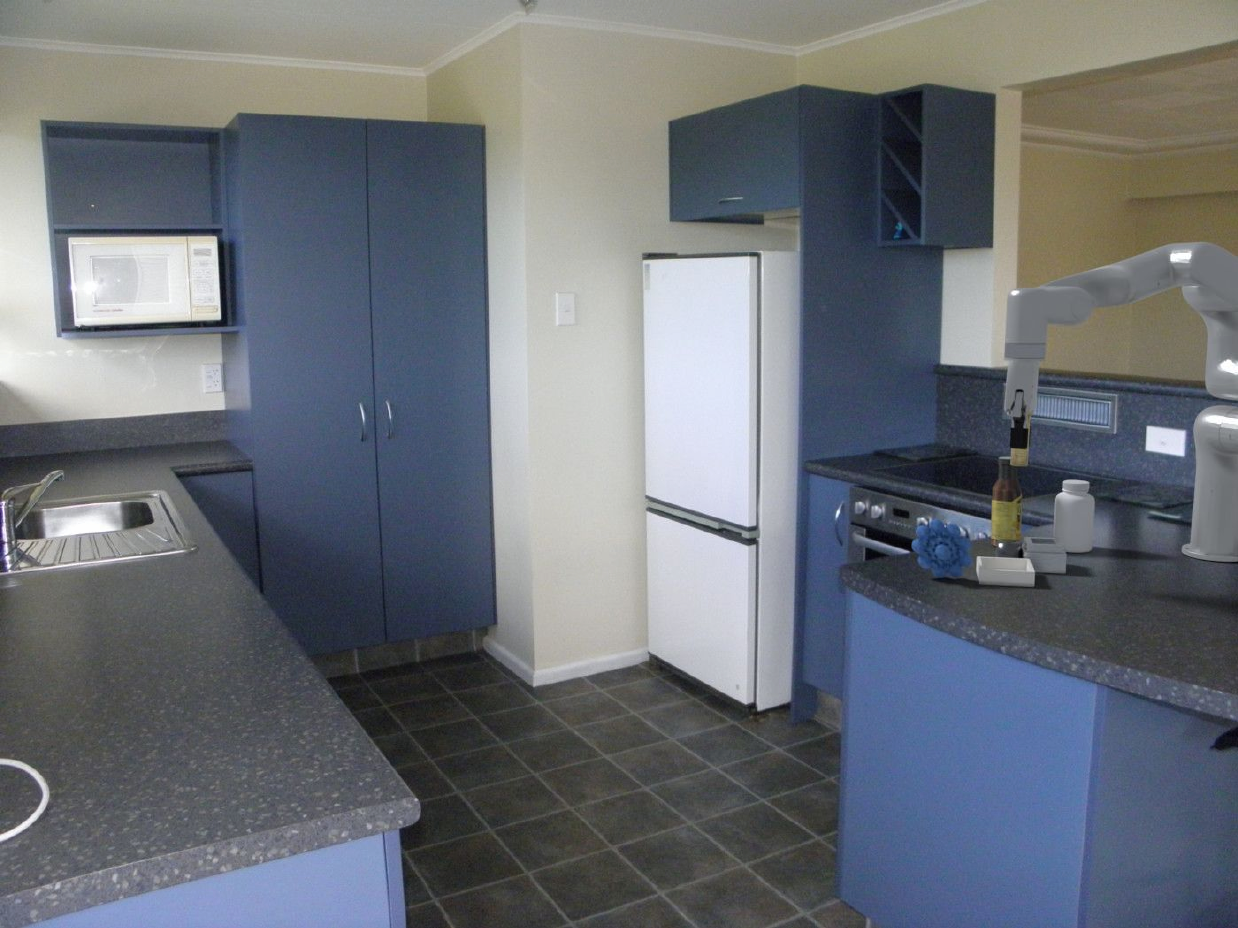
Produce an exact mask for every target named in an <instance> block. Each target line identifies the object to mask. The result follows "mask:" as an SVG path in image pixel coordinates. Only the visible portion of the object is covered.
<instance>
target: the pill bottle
mask: <svg viewBox="0 0 1238 928" xmlns="http://www.w3.org/2000/svg"><path fill="white" fill-rule="evenodd" d="M1089 489H1090V482H1089V481H1086V480H1081V479H1065V480H1063V481H1062V489H1061V490H1062V491H1061V492H1060V493H1058V494H1057V495H1056V496H1055V499H1054V511H1053V512H1054V514H1053V515H1054V516H1053V517H1054V518H1053V532H1052V533H1053V537H1052V538H1059V539H1060V541H1061V543H1062V545H1063V549H1064V550H1065V552H1066V553H1074V554H1075V553H1076V554H1078V553H1079V554H1083V553H1088V552H1091V551H1092V550H1093V544H1094V543H1093V542H1094V524H1095V523H1094V522H1095V508H1096V507H1095V506H1096V501H1095V498H1094V496H1093V495H1092V494H1091V493H1088V492H1089Z"/></svg>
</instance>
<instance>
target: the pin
mask: <svg viewBox="0 0 1238 928" xmlns="http://www.w3.org/2000/svg"><path fill="white" fill-rule="evenodd" d="M1012 410H1013V407H1012V408H1011V410H1010V415H1012ZM1022 412H1025V409H1022ZM1033 415H1034V409H1033V410H1032V411H1030V412H1028V420H1027V428H1029V429H1028V447H1027V448H1026V449H1015V448H1010V457H1011V460H1010V465H1013V466H1017V467H1028V465H1029V452H1030V451H1029V449H1030V445H1029V433H1030V426H1031V424H1030V416H1031V417H1032V416H1033ZM1022 416H1024V415H1022Z"/></svg>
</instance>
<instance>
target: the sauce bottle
mask: <svg viewBox="0 0 1238 928" xmlns="http://www.w3.org/2000/svg"><path fill="white" fill-rule="evenodd" d="M1010 460H1011V456H999V457H998V460H997V464H998V475H997V476H998V479H997V480H996V481H995V483H994V485H993V486H992V499H991V521H990V523H991V525H990V527H991V529H990V539H991V541H990V543H991V545H992V547H995V548H996V541H997V540H1003V539H1009V540H1017V541H1020V542H1021V540H1022V515H1023V513H1022V512H1023V511H1022V510H1023V509H1022V508H1023V491H1022V489H1021V486H1020V482H1019V480H1018V474H1017V473H1018V472H1017V471H1018V466H1013V465H1010Z"/></svg>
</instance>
